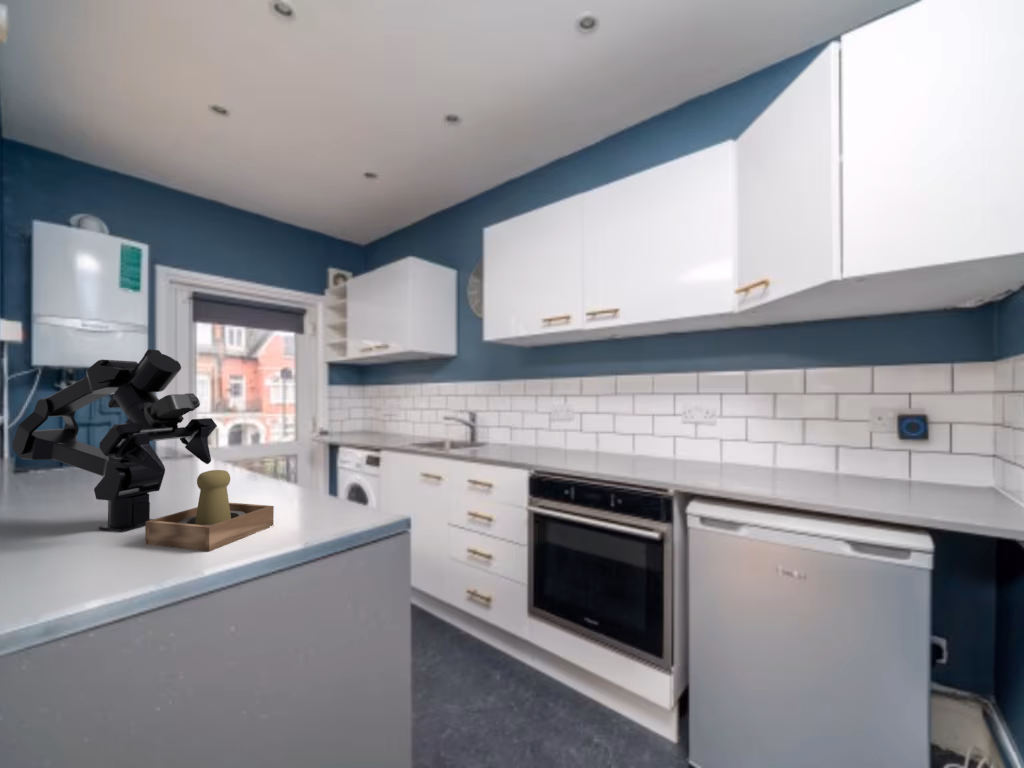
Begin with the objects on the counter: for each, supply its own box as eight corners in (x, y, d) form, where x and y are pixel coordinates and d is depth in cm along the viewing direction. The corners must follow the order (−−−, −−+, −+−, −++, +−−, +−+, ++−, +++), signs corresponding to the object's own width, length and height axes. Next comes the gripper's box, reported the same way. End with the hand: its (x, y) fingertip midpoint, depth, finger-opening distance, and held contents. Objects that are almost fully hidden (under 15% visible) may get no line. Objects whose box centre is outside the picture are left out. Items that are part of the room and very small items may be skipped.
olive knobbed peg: (224, 533, 78) (224, 473, 78) (186, 535, 77) (187, 474, 77) (237, 523, 84) (238, 467, 84) (203, 525, 83) (203, 468, 83)
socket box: (145, 544, 75) (145, 521, 75) (216, 520, 89) (217, 501, 89) (209, 551, 72) (209, 527, 72) (273, 525, 86) (273, 505, 86)
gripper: (112, 378, 75) (160, 443, 72) (210, 380, 93) (252, 433, 90) (78, 422, 76) (124, 488, 74) (181, 416, 95) (221, 468, 92)
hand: (187, 466), depth 82 cm, fingers open, 9 cm apart
